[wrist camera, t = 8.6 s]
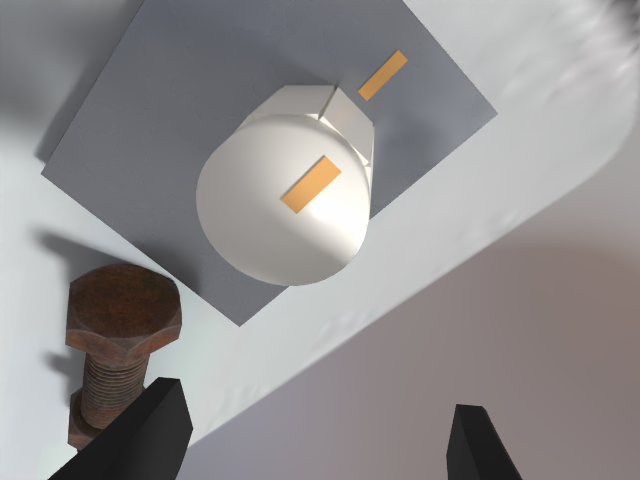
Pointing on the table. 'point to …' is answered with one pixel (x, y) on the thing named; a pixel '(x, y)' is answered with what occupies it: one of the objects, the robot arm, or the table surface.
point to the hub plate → (238, 103)
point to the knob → (291, 187)
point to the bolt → (116, 340)
